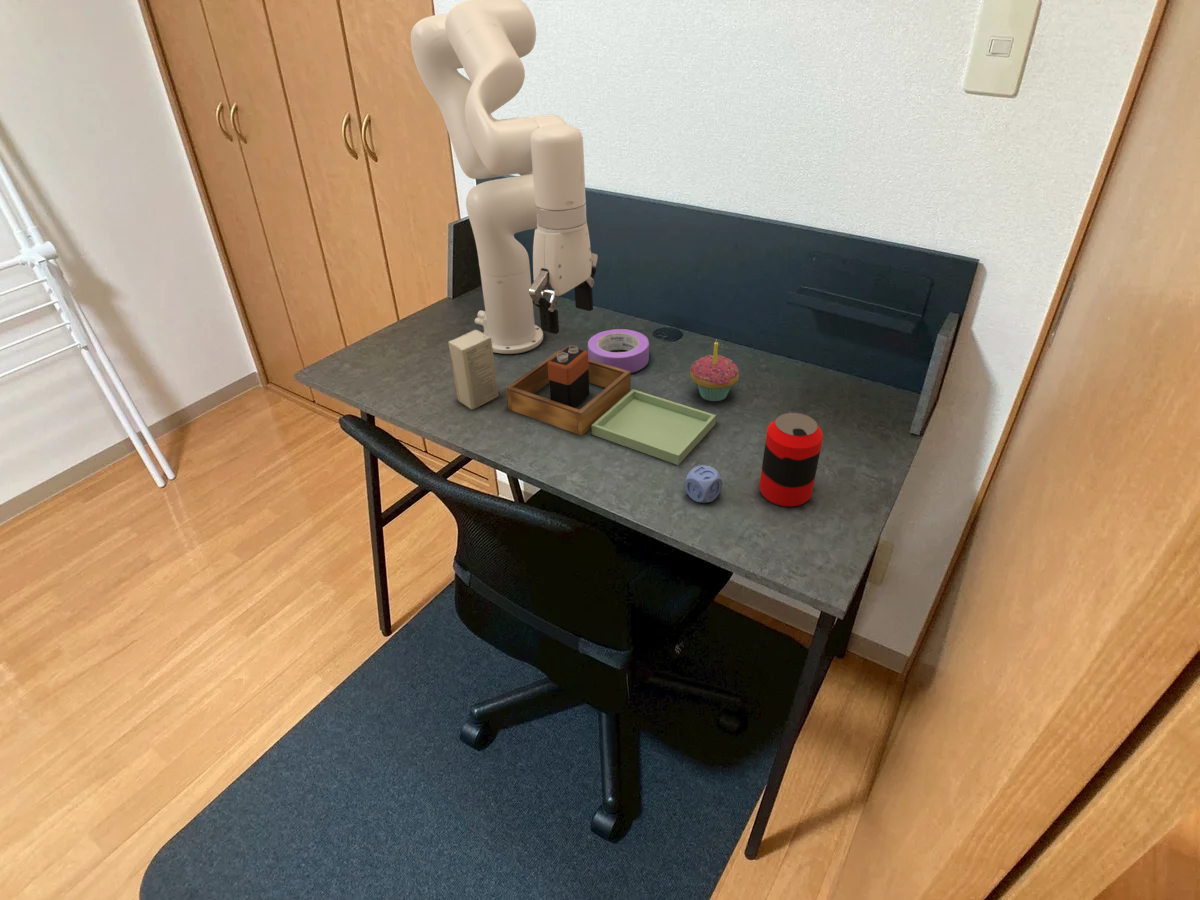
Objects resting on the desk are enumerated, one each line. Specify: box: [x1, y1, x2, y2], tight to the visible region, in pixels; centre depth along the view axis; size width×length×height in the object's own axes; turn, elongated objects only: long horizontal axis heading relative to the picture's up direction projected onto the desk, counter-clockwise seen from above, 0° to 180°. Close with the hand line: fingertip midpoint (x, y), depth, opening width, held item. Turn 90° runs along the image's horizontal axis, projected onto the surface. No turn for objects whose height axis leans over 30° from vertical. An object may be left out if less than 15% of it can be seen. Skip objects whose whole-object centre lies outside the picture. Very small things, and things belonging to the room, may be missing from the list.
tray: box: [591, 388, 717, 466], centre depth 120 cm, size 16×13×2 cm
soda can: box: [758, 412, 824, 508], centre depth 103 cm, size 8×8×12 cm
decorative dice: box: [684, 464, 723, 504], centre depth 105 cm, size 4×4×4 cm
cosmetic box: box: [447, 329, 500, 410], centre depth 125 cm, size 6×4×12 cm
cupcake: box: [689, 338, 740, 402], centre depth 125 cm, size 9×8×12 cm
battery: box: [548, 345, 590, 409], centre depth 125 cm, size 4×7×10 cm, turn 150°
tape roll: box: [587, 328, 650, 374], centre depth 138 cm, size 12×12×4 cm
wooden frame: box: [505, 349, 632, 437], centre depth 126 cm, size 16×16×4 cm
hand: (567, 320), depth 118 cm, fingers open, 9 cm apart
